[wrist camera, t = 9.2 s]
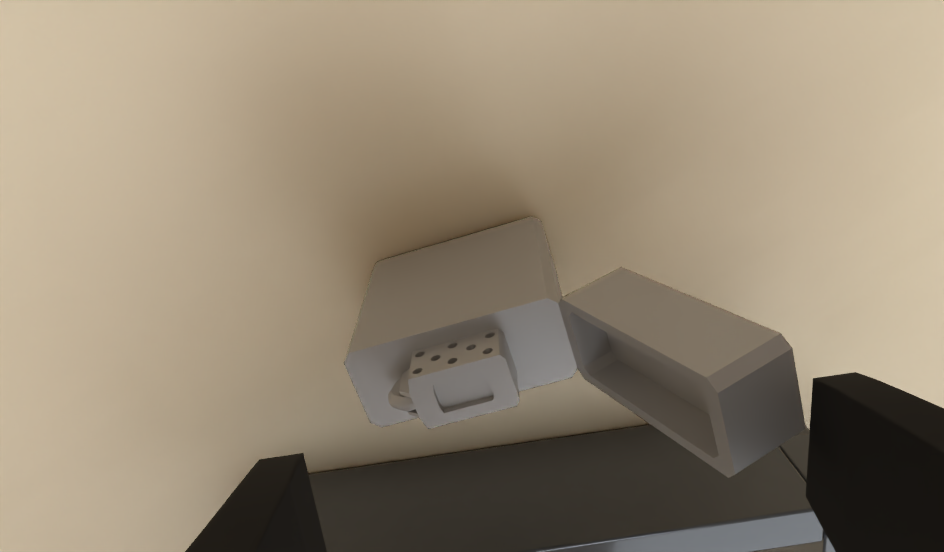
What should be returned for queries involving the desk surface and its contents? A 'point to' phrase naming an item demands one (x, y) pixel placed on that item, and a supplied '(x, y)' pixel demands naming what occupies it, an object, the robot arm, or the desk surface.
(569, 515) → the sink
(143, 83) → the desk surface
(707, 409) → the lighter
